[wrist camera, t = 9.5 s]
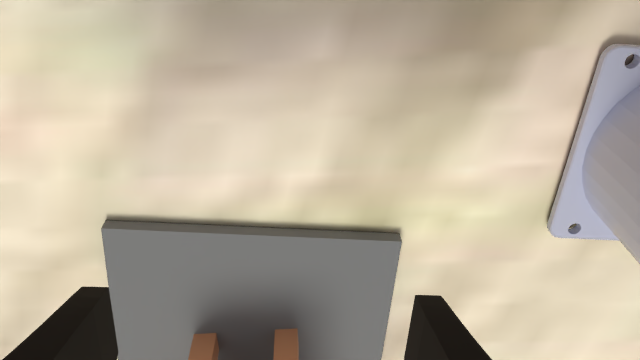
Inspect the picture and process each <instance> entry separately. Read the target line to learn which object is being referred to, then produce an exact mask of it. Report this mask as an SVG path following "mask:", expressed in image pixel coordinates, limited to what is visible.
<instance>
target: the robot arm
mask: <svg viewBox="0 0 640 360" xmlns="http://www.w3.org/2000/svg"><path fill="white" fill-rule="evenodd" d="M632 54H634V59H633V61H632V62H631V63H630V64H628V65H625V60H626V58H627V57H628V56H630V55H632ZM576 223H577V224H576ZM572 224H576V226H575V227H573V228H571V229H568V228H569V227H570V226H571V225H572ZM547 228H548V230H549V232H550V233H551V234H552V235H553V236H554V237H558V238H574V239H596V240H618V241H620V242H621V243H622V244H623V245H624V246H625V247H626V249H627V250H628V251H629V252H630V253H631V254H632V256H633V257H634V258H635V259H636V260H637V261H638V262H639V264H640V45H631V44H612V45H610V46H608V47H607V48H606V49H605V50H604V51H603V52H602V54H601V56H600V59H599V62H598V65H597V68H596V71H595V74H594V78H593V81H592V84H591V87H590V90H589V93H588V97H587V100H586V103H585V106H584V109H583V112H582V116H581V119H580V122H579V125H578V128H577V131H576V135H575V138H574V141H573V144H572V147H571V150H570V154H569V157H568V160H567V163H566V166H565V169H564V173H563V176H562V179H561V182H560V185H559V188H558V192H557V195H556V198H555V201H554V204H553V207H552V211H551V214H550V217H549V220H548V223H547ZM117 356H118V346H117V339H116V332H115V326H114V319H113V312H112V306H111V299H110V292H109V287H81V288H80V289H79V290H78V291H77V292H76V293H75V294H73V295H72V296H71V297H70V298H69V299H68V300H67V301H66V302H65V303H64V304H63V305H62V306H61V307H60V308H59V309H58V310H56V311H55V312H54V313H53V314H52V315H51V316H50V317H49V318H48V319H47V320H46V321H45V322H44V323H43V324H42V325H41V326H39V327H38V328H37V329H36V330H35V331H34V332H33V333H32V334H31V335H30V336H28V337H27V338H26V339H25V340H24V341H23V342H22V343H21V344H20V345H19V346H17V347H16V348H15V349H14V350H13V351H12V352H11V353H10V354H8V355H7V356H6V357H5V358H4V359H2V360H117ZM404 360H492V359H491V358H490V357H489V356H488V355H487V353H486V352H485V351H484V350H483V349H482V348H481V346H480V345H479V344H478V343H477V341H476V340H475V339H474V338H473V336H472V335H471V334H470V333H469V331H468V330H467V329H466V328H465V326H464V325H463V324H462V322H461V321H460V320H459V319H458V317H457V316H456V315H455V313H454V312H453V311H452V309H451V308H450V307H449V305H448V304H447V303H446V301H445V300H444V299H443V298H442V297H441V296H433V295H415V300H414V305H413V311H412V317H411V322H410V328H409V334H408V339H407V345H406V351H405V356H404Z"/></svg>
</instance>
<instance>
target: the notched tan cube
mask: <svg viewBox="0 0 640 360" xmlns="http://www.w3.org/2000/svg"><path fill="white" fill-rule="evenodd" d="M218 354H219V345H218V340H217V334H216V333H205V334H194V335H193V340H192V344H191V349H190V353H189V358H188V360H218ZM273 360H299V342H298V330H297V328H295V329H277V330H275V337H274V357H273Z"/></svg>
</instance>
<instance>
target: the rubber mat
mask: <svg viewBox="0 0 640 360" xmlns="http://www.w3.org/2000/svg"><path fill="white" fill-rule="evenodd" d="M101 230H102V238H103V246H104V254H105V261H106V269H107V277H108V285H109V292H110V299H111V306H112V312H113V319H114V326H115V332H116V339H117V346H118V360H188V358H189V353H190V349H191V344H192V340H193V335H194V334H205V333H216V334H217V340H218V345H219V354H218V360H273V357H274V337H275V330H277V329H295V328H297V330H298V342H299V360H381V357H382V352H383V346H384V340H385V335H386V329H387V323H388V317H389V312H390V306H391V300H392V294H393V289H394V283H395V277H396V271H397V266H398V260H399V254H400V248H401V243H402V241H401V237H400V234H399V233H378V232H356V231H334V230H311V229H289V228H267V227H244V226H222V225H200V224H178V223H155V222H133V221H111V220H106V221H105V223H104V224H103V226H102V228H101Z"/></svg>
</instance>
